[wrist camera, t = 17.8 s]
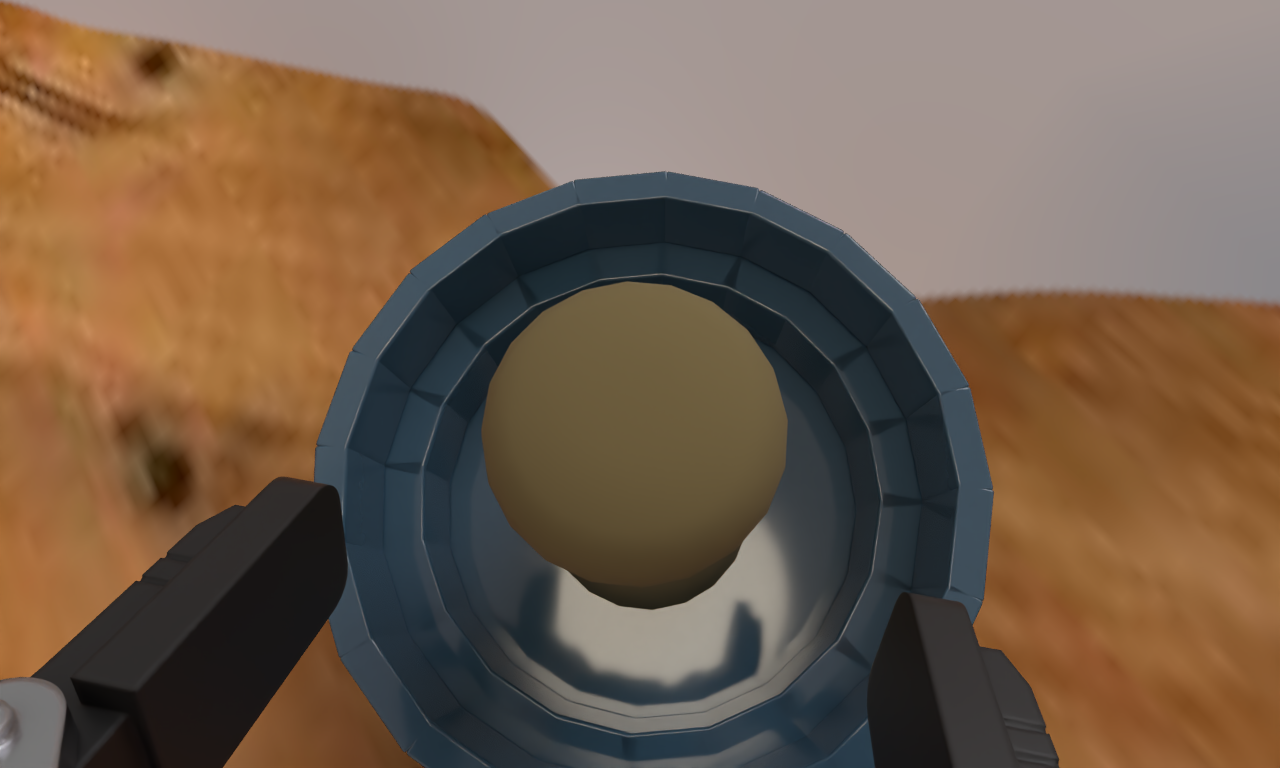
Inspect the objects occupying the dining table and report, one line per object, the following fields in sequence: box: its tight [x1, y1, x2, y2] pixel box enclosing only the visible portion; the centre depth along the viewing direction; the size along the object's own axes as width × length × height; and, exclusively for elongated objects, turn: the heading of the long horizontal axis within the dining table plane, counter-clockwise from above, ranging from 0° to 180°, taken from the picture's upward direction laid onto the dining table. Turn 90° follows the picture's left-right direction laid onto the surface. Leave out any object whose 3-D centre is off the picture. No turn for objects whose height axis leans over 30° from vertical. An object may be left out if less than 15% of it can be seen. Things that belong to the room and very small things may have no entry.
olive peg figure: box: [481, 281, 788, 610], centre depth 16 cm, size 6×6×11 cm
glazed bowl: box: [314, 172, 994, 768], centre depth 19 cm, size 16×16×6 cm
